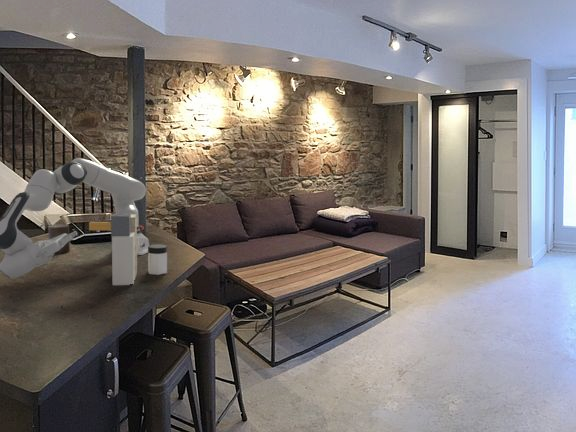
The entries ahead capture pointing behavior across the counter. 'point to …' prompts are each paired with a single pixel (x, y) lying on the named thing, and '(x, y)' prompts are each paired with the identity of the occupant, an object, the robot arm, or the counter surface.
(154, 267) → the jar
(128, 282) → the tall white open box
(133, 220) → the tall pedestal
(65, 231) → the pillar candle
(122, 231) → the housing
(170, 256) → the counter surface
